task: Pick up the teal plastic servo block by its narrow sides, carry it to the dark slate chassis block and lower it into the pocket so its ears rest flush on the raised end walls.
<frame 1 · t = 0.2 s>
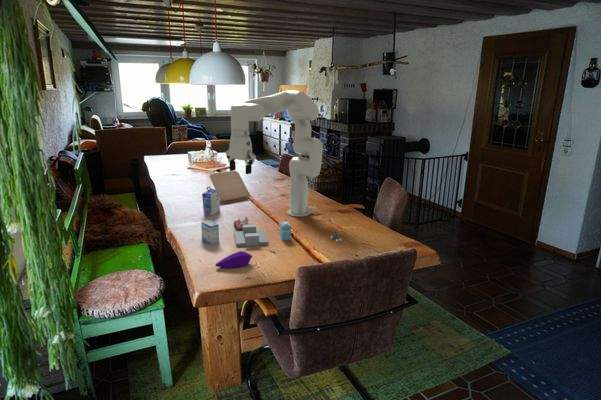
hand: (240, 172, 179), 31 cm above the table, tool pointing down, fingers open, 9 cm apart
purple tapered spindle: (234, 266, 158), on the table
chassis block: (250, 239, 184), on the table
car cutout: (340, 244, 183), on the table
servo block: (284, 237, 187), on the table
medicine box: (210, 241, 181), on the table
case: (227, 198, 248), on the table
walkie-talkie: (243, 227, 200), on the table
ink cartridge box: (211, 213, 219), on the table
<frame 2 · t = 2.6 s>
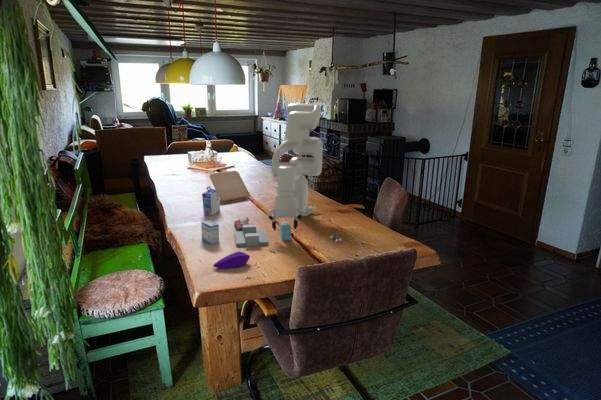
hand: (284, 228, 186), 5 cm above the table, tool pointing down, fingers open, 9 cm apart
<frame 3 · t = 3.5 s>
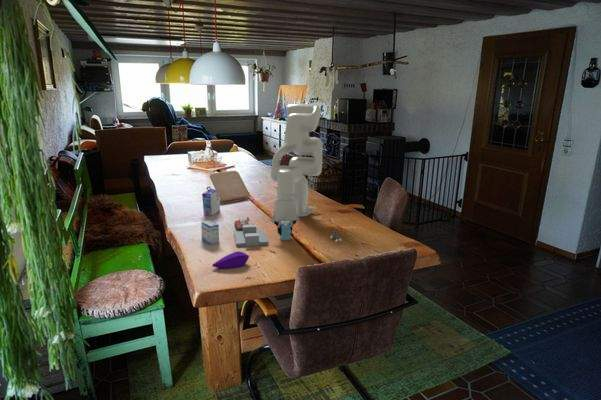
hand: (284, 233, 187), 2 cm above the table, tool pointing down, fingers closed on servo block, 4 cm apart
servo block: (284, 237, 187), on the table, touching gripper
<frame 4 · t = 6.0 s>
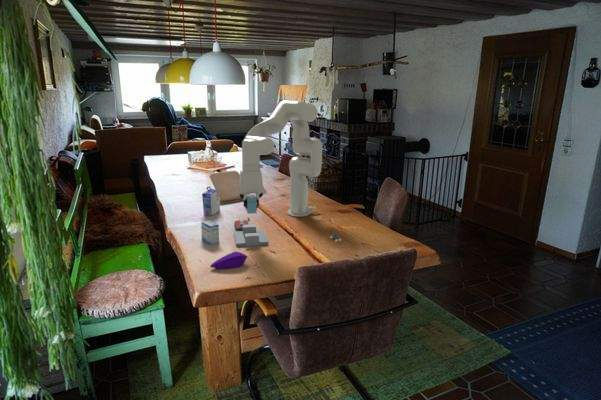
hand: (251, 207, 179), 15 cm above the table, tool pointing down, fingers closed on servo block, 4 cm apart
servo block: (251, 211, 180), point 14 cm above the table, touching gripper
when the fingers open (3 cm above the table, at t = 8.6 s): servo block stays where it is, resting on chassis block.
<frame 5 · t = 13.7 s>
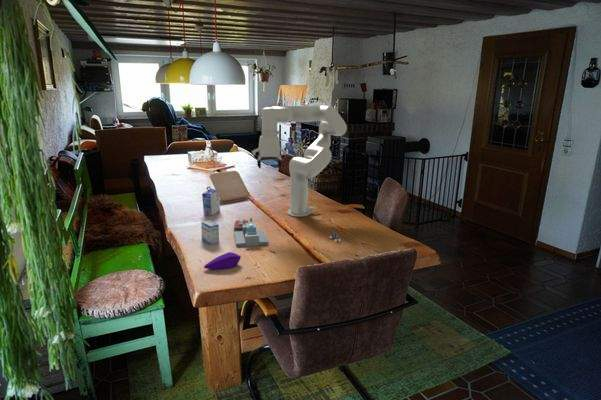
hand: (269, 167, 201), 28 cm above the table, tool pointing down, fingers open, 9 cm apart
purple tapered spindle: (222, 267, 156), on the table
servo block: (250, 239, 184), resting on chassis block
at the end: servo block 0.0 cm off-centre on the chassis block, point 0.0 cm above the chassis block's base; servo block tilted 0°; the gripper is holding nothing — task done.
